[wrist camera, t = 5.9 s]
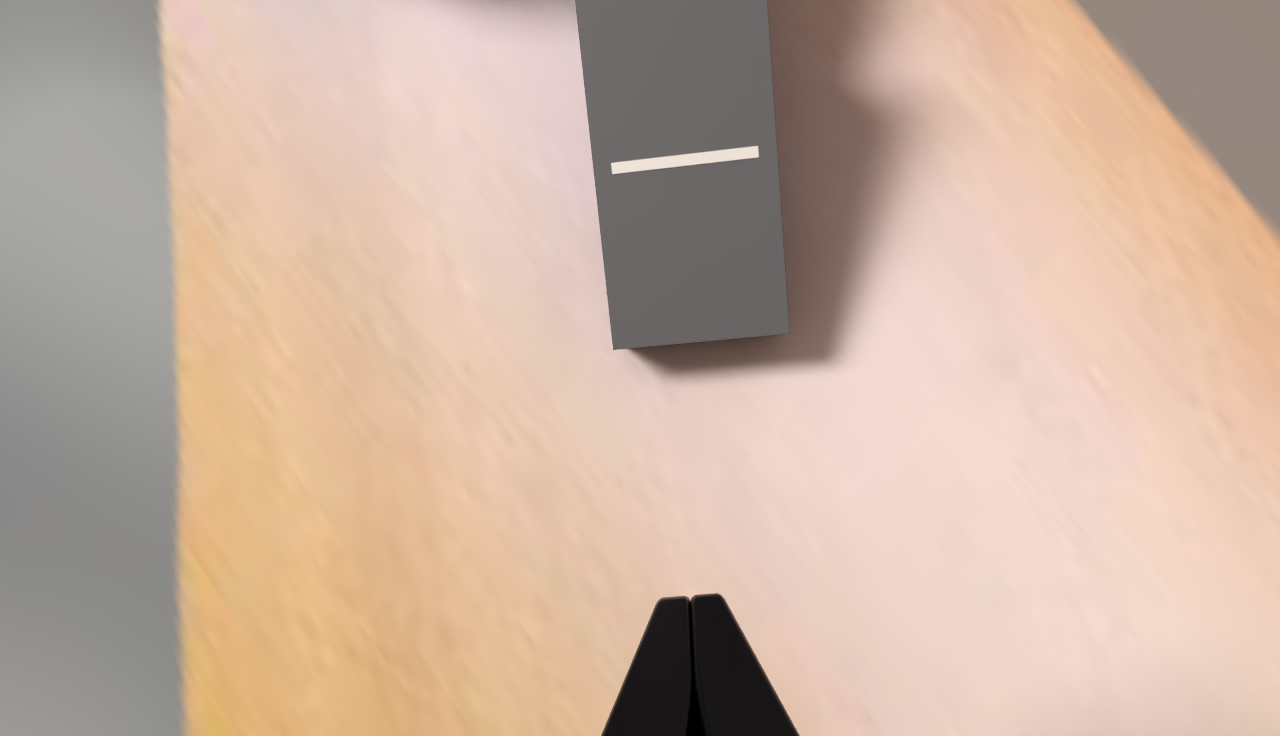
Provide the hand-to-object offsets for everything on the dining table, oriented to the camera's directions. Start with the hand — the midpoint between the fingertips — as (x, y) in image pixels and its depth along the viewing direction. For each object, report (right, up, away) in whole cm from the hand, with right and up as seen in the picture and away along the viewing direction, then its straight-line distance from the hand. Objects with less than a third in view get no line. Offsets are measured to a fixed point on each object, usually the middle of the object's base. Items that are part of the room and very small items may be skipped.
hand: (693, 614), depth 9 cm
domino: (+1, +4, +11) cm, 12 cm away
